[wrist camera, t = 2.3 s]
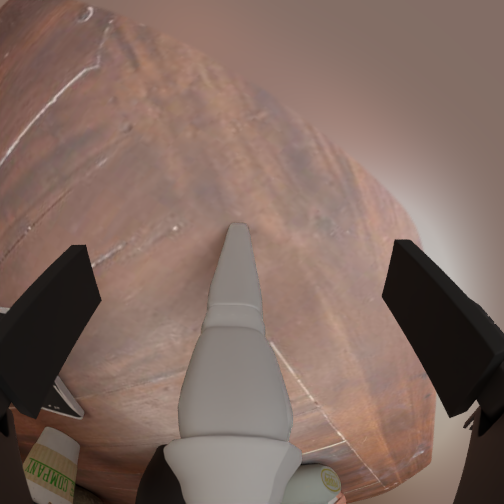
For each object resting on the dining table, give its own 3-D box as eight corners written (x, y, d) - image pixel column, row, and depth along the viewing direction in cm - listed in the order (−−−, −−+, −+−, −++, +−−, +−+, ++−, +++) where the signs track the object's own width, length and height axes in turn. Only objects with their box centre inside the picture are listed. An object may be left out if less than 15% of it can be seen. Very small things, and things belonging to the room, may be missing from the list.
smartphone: (15, 314, 17) (84, 420, 24) (23, 305, 18) (88, 411, 25) (-27, 308, 17) (38, 407, 24) (-20, 301, 18) (41, 399, 25)
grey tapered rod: (213, 204, 14) (128, 544, 2) (266, 204, 14) (330, 551, 2) (215, 249, 16) (169, 553, 3) (265, 249, 16) (301, 556, 3)
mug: (171, 472, 31) (165, 526, 23) (134, 437, 26) (119, 506, 17) (227, 474, 31) (225, 532, 22) (202, 440, 25) (196, 519, 17)
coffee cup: (103, 456, 30) (85, 536, 17) (66, 450, 32) (46, 518, 18) (57, 421, 26) (26, 510, 13) (24, 417, 28) (-5, 490, 14)
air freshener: (341, 468, 32) (352, 524, 23) (292, 483, 34) (298, 536, 25) (311, 452, 28) (321, 524, 19) (253, 468, 30) (255, 533, 21)
